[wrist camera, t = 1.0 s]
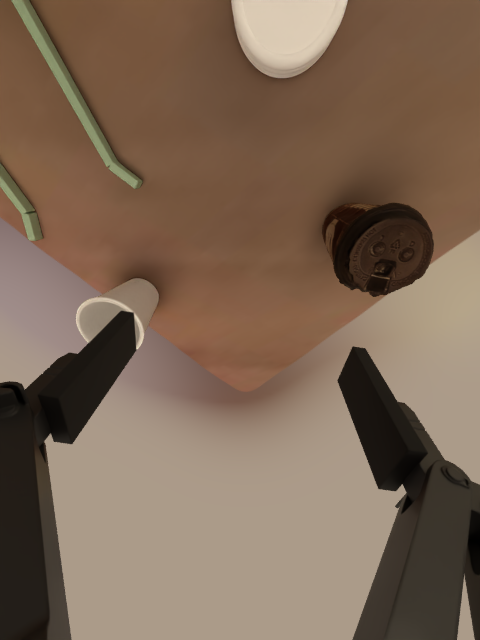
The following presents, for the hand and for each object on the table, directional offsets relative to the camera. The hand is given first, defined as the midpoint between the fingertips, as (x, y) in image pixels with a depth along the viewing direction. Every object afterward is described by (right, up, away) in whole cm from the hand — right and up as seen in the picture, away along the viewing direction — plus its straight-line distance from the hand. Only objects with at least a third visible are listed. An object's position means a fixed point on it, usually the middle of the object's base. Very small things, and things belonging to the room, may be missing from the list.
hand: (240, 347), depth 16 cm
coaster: (+4, +31, +9) cm, 33 cm away
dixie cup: (-16, +6, +25) cm, 30 cm away
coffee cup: (+14, +14, +18) cm, 27 cm away
